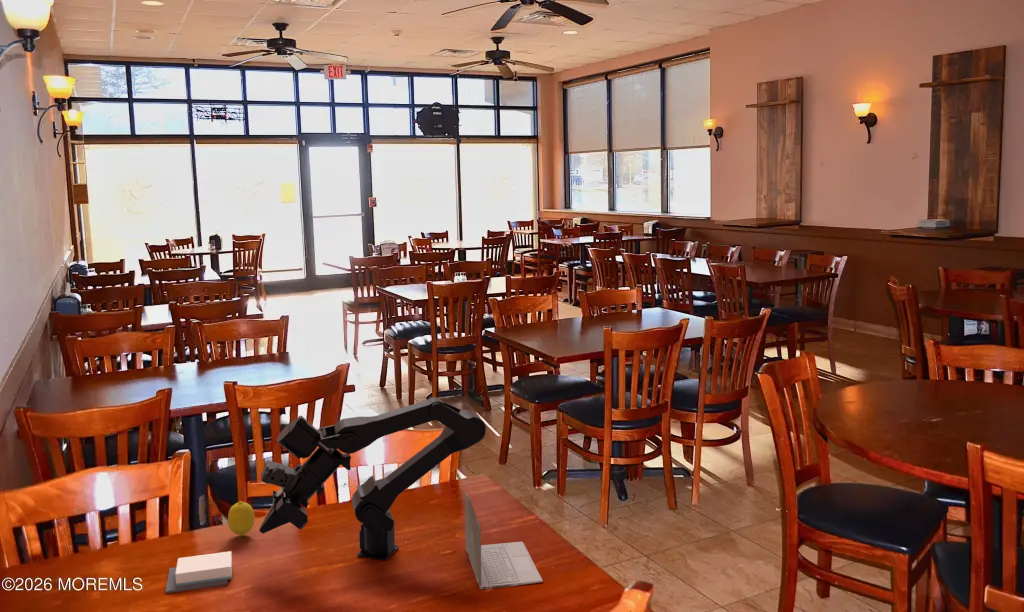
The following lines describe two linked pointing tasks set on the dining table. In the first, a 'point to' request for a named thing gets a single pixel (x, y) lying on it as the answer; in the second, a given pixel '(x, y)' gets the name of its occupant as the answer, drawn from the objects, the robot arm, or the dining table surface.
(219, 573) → the white rectangular block
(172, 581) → the mat
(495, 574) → the laptop
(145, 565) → the dining table surface
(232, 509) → the lemon
